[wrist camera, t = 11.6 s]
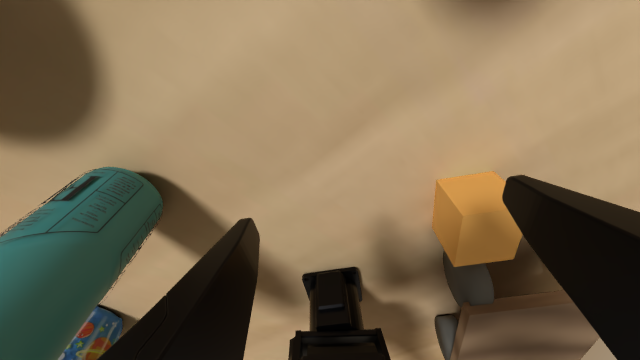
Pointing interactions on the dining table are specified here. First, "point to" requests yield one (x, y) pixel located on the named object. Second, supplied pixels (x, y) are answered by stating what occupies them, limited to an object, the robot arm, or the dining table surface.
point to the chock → (474, 220)
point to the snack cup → (94, 336)
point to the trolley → (509, 322)
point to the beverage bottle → (70, 259)
